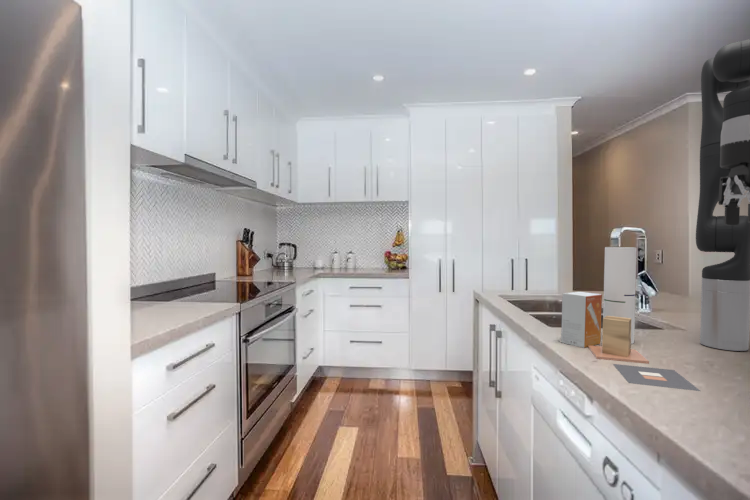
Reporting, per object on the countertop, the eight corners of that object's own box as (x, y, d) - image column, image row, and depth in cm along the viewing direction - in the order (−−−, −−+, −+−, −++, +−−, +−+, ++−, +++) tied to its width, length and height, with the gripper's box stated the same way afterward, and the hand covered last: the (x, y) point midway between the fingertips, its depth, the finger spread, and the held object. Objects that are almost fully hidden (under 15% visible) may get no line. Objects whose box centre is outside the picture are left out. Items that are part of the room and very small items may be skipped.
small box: (584, 348, 96) (585, 296, 95) (560, 342, 101) (561, 293, 101) (601, 344, 100) (602, 293, 100) (577, 338, 105) (578, 291, 105)
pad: (588, 347, 96) (588, 345, 96) (634, 351, 93) (635, 349, 93) (596, 359, 87) (596, 356, 87) (648, 364, 84) (649, 361, 84)
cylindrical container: (640, 344, 100) (643, 247, 100) (612, 343, 100) (615, 247, 100) (623, 337, 107) (625, 247, 107) (597, 337, 107) (599, 247, 107)
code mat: (612, 364, 83) (612, 363, 83) (673, 370, 80) (673, 369, 80) (628, 383, 72) (628, 382, 72) (700, 391, 68) (700, 390, 68)
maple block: (605, 348, 93) (606, 315, 93) (630, 352, 90) (631, 318, 90) (602, 353, 90) (602, 318, 89) (627, 357, 86) (628, 321, 86)
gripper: (705, 151, 85) (703, 225, 85) (742, 134, 71) (739, 222, 72) (748, 149, 82) (746, 225, 82) (795, 130, 69) (792, 222, 69)
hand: (743, 224), depth 77 cm, fingers open, 8 cm apart
